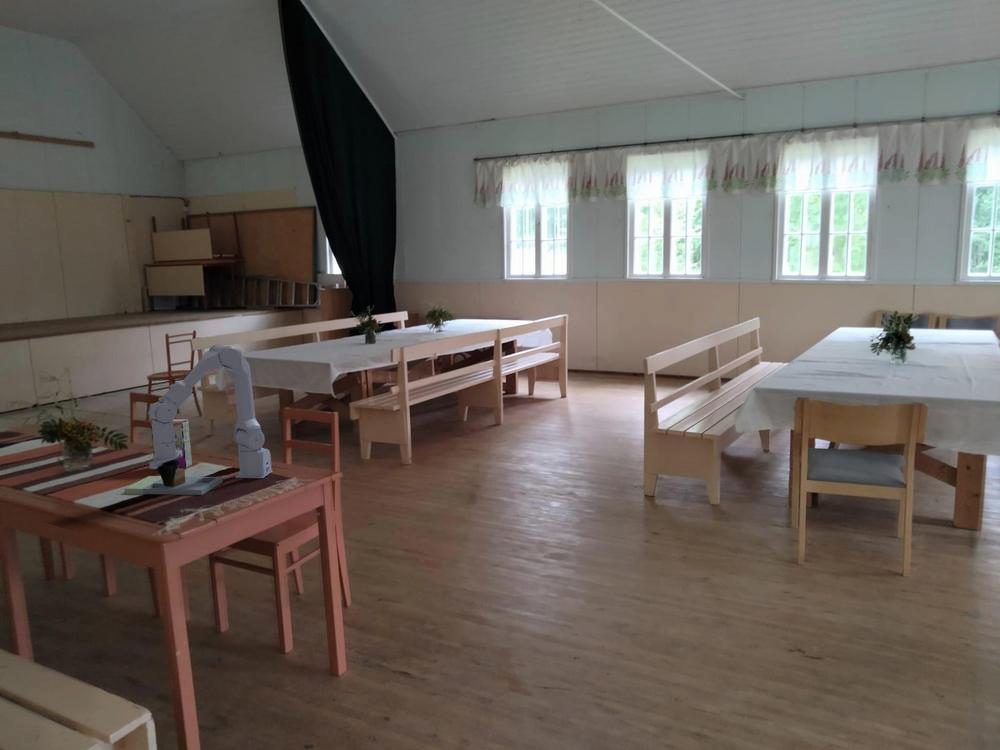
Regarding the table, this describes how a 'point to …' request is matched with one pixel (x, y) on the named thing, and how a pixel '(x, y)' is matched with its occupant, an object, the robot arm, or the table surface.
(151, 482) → the board
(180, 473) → the walnut block
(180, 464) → the candy bar box
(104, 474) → the table surface
